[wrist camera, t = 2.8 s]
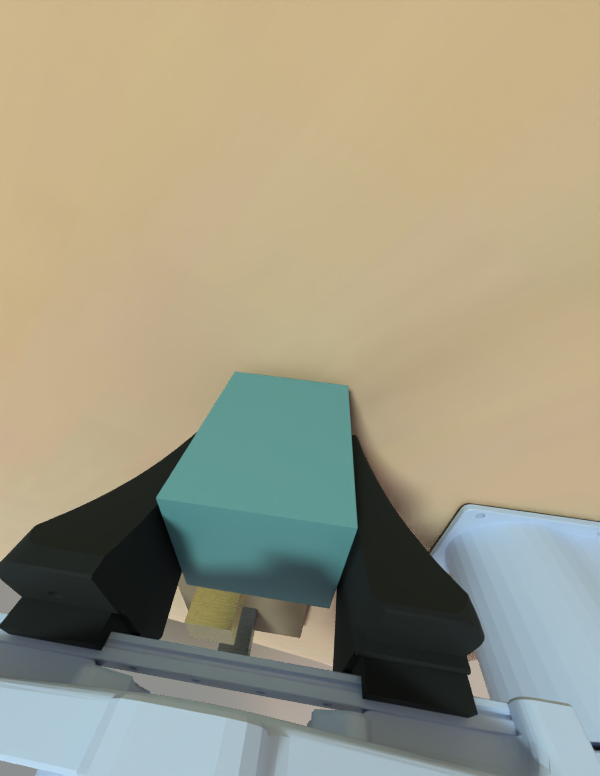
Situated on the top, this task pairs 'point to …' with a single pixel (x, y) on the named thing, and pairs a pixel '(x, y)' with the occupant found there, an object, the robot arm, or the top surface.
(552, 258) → the top surface
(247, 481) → the teal block
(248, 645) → the graphite post
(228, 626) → the brass post
